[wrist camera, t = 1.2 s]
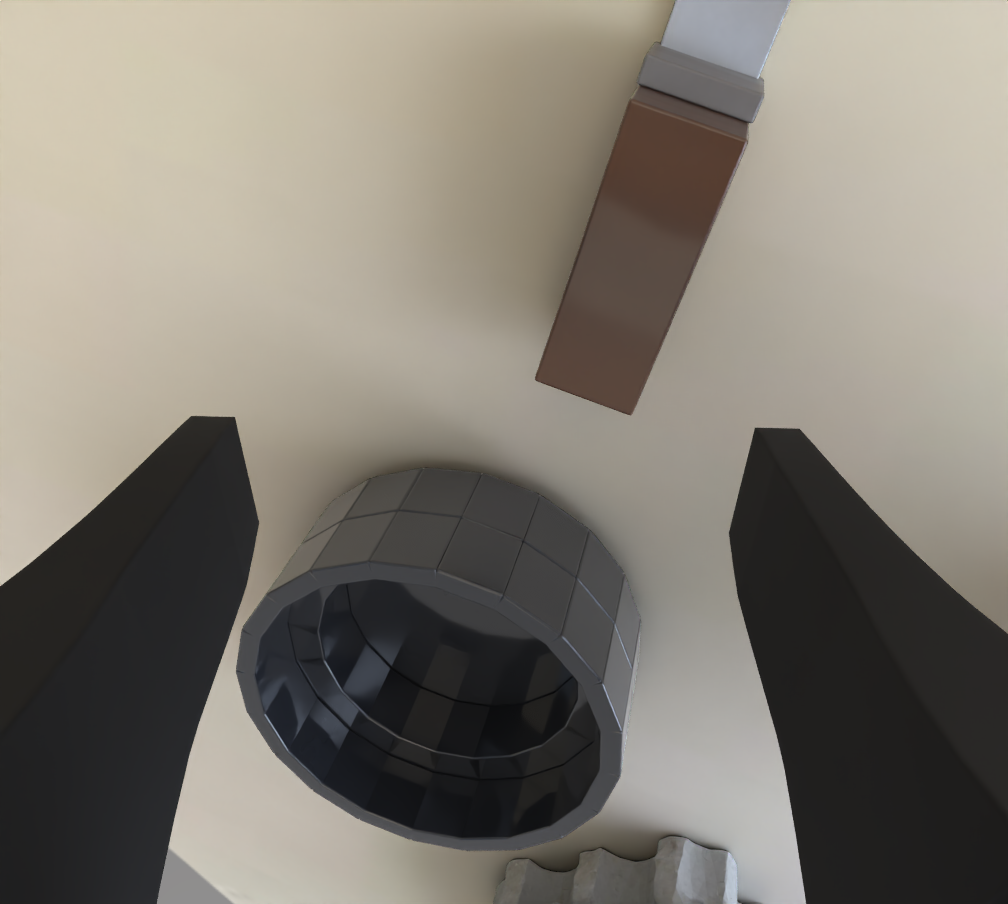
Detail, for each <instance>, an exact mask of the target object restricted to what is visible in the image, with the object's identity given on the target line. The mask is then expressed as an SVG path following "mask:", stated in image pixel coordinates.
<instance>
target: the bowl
mask: <svg viewBox="0 0 1008 904" xmlns="http://www.w3.org/2000/svg"><path fill="white" fill-rule="evenodd" d="M640 632H641V619H640V615H639V612H638V609H637V606H636V604H635V601H634V598H633V595H632V593H631V590H630V587H629V584H628V581H627V579H626V576H625V574H624V571H623V570H622V569H621V567H620V566H619V565H618V564H617V562H616V561H615V560H614V559H613V557H612V556H611V555H610V554H609V552H608V551H607V550H606V549H605V547H604V546H603V545H602V544H601V542H600V541H599V540H598V539H597V537H596V536H595V535H594V534H593V532H592V531H591V530H589V529H588V528H587V527H586V526H584V525H583V524H581V523H580V522H579V521H577V520H576V519H574V518H573V517H572V516H570V515H569V514H567V513H566V512H564V511H563V510H562V509H560V508H559V507H557V506H556V505H554V504H553V503H552V502H550V501H549V500H547V499H546V498H545V497H543V496H540V495H539V494H538V493H536V492H533V491H530V490H528V489H525V488H522V487H520V486H517V485H514V484H512V483H509V482H506V481H504V480H501V479H498V478H496V477H493V476H490V475H488V474H485V473H483V474H481V473H479V472H468V471H458V470H448V469H438V468H428V467H426V468H424V469H423V468H418V469H413V470H408V471H403V472H397V473H392V474H387V475H382V476H377V477H373V478H370V479H368V480H366V481H364V482H363V483H361V484H359V485H358V486H356V487H354V488H353V489H351V490H349V491H348V492H346V493H344V494H343V495H341V496H339V497H338V498H336V499H334V500H333V501H332V502H331V503H330V504H329V505H328V507H327V508H326V509H325V511H324V512H323V514H322V515H321V516H320V518H319V519H318V521H317V522H316V523H315V525H314V526H313V528H312V529H311V530H310V532H309V533H308V535H307V536H306V537H305V539H304V540H303V542H302V543H301V545H300V546H299V547H298V549H297V550H296V552H295V553H294V555H293V556H292V557H291V559H290V560H289V562H288V563H287V565H286V566H285V567H284V569H283V570H282V572H281V573H280V575H279V576H278V577H277V579H276V580H275V582H274V583H273V584H272V586H271V587H270V589H269V590H268V592H267V593H266V594H265V596H264V597H263V599H262V600H261V602H260V603H259V604H258V606H257V607H256V609H255V610H254V611H253V613H252V614H251V616H250V617H249V619H248V620H247V621H246V623H245V624H244V626H243V629H242V632H241V639H240V646H239V653H238V660H237V667H236V669H237V670H236V674H237V677H238V681H239V685H240V688H241V692H242V696H243V699H244V703H245V707H246V710H247V713H248V714H249V716H250V718H251V719H252V721H253V722H254V724H255V725H256V727H257V728H258V730H259V731H260V733H261V735H262V736H263V738H264V739H265V741H266V742H267V744H268V745H269V747H270V748H271V750H272V752H273V753H275V755H276V756H277V757H278V758H279V759H280V760H281V761H282V762H283V763H284V764H285V765H286V766H287V767H288V768H289V769H290V770H291V771H293V772H294V773H295V774H296V775H297V776H298V777H299V778H300V779H301V780H302V781H303V782H304V783H305V784H306V785H307V786H308V787H309V788H310V789H313V791H314V792H316V793H317V794H319V795H320V796H322V797H324V798H325V799H327V800H328V801H330V802H332V803H333V804H335V805H336V806H338V807H340V808H341V809H343V810H344V811H346V812H347V813H349V814H351V815H352V816H354V817H355V818H357V819H360V820H361V821H364V822H366V823H369V824H371V825H374V826H376V827H379V828H382V829H384V830H387V831H389V832H392V833H394V834H397V835H399V836H402V837H404V838H407V839H412V840H413V841H417V842H423V843H428V844H433V845H438V846H443V847H448V848H453V849H458V850H466V851H493V850H516V849H517V850H521V849H524V848H528V847H531V846H535V845H539V844H542V843H546V842H550V841H553V840H557V839H561V838H563V837H565V836H567V835H568V834H569V833H571V832H572V831H574V830H575V829H577V828H578V827H579V826H581V825H582V824H584V823H585V822H587V821H588V820H590V819H591V818H592V817H594V816H595V815H597V814H598V813H599V812H600V811H601V809H602V808H603V806H604V804H605V802H606V801H607V799H608V797H609V796H610V794H611V792H612V790H613V789H614V787H615V785H616V783H617V782H618V780H619V778H620V776H621V771H622V765H623V758H624V752H625V746H626V740H627V733H628V727H629V721H630V713H631V708H632V701H633V695H634V689H635V682H636V676H637V670H638V664H639V651H640Z"/></svg>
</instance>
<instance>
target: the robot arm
mask: <svg viewBox="0 0 1008 904" xmlns="http://www.w3.org/2000/svg"><path fill="white" fill-rule="evenodd" d="M258 526H259V521H258V516H257V512H256V508H255V503H254V499H253V494H252V490H251V486H250V481H249V477H248V473H247V468H246V464H245V459H244V455H243V451H242V446H241V442H240V438H239V433H238V429H237V425H236V420H235V417H208V416H191V417H190V418H189V419H188V420H186V421H185V422H184V423H183V424H182V425H181V426H180V427H179V428H178V429H177V430H176V431H175V432H174V433H173V434H172V435H171V436H170V437H169V438H168V439H166V440H165V441H164V442H163V443H162V444H161V445H160V446H159V447H158V448H157V449H156V450H155V451H154V452H153V453H152V454H151V455H150V456H149V457H148V458H147V459H146V460H145V461H144V462H143V463H142V464H141V465H140V466H139V467H138V468H137V469H136V470H135V471H134V472H133V473H131V474H130V475H129V476H128V477H127V478H126V479H125V480H124V481H123V482H122V483H121V484H120V485H119V486H118V487H117V488H116V489H115V490H114V491H112V492H111V493H110V494H109V495H108V496H107V497H106V498H105V499H104V500H103V501H102V502H101V503H100V504H99V505H97V506H96V507H95V508H94V509H93V510H92V511H91V512H90V513H89V514H88V515H87V516H86V517H84V518H83V519H82V520H81V521H80V522H78V523H77V524H76V525H75V526H74V527H73V528H71V529H70V530H69V531H68V532H67V533H66V534H64V535H63V536H62V537H61V538H60V539H59V540H57V541H56V542H55V543H54V544H53V545H51V546H50V547H49V548H48V549H47V550H46V551H44V552H43V553H42V554H41V555H40V556H39V557H37V558H36V559H35V560H34V561H33V562H31V563H30V564H29V565H27V566H26V567H25V568H24V569H22V570H21V571H20V572H19V573H17V574H16V575H15V576H13V577H12V578H11V579H9V580H8V581H7V582H5V583H4V584H3V585H1V586H0V904H157V899H158V893H159V888H160V883H161V879H162V874H163V869H164V864H165V859H166V855H167V850H168V846H169V841H170V837H171V832H172V827H173V822H174V818H175V814H176V809H177V805H178V801H179V797H180V792H181V788H182V784H183V779H184V775H185V771H186V767H187V762H188V758H189V754H190V751H191V747H192V744H193V741H194V737H195V734H196V731H197V727H198V724H199V721H200V718H201V715H202V713H203V710H204V707H205V704H206V701H207V698H208V695H209V693H210V690H211V687H212V684H213V681H214V678H215V676H216V673H217V670H218V667H219V664H220V661H221V658H222V656H223V653H224V650H225V647H226V644H227V641H228V639H229V636H230V633H231V630H232V627H233V624H234V621H235V618H236V615H237V612H238V609H239V606H240V604H241V601H242V598H243V595H244V591H245V588H246V585H247V580H248V576H249V571H250V567H251V562H252V557H253V552H254V547H255V541H256V536H257V531H258ZM729 537H730V545H731V552H732V560H733V568H734V574H735V581H736V587H737V594H738V599H739V602H740V606H741V610H742V614H743V617H744V621H745V625H746V628H747V632H748V635H749V639H750V643H751V646H752V650H753V653H754V657H755V660H756V664H757V667H758V671H759V675H760V678H761V682H762V685H763V689H764V692H765V696H766V699H767V703H768V706H769V710H770V713H771V717H772V720H773V724H774V727H775V731H776V734H777V738H778V743H779V747H780V751H781V755H782V760H783V764H784V769H785V774H786V780H787V786H788V792H789V797H790V803H791V809H792V815H793V821H794V827H795V832H796V839H797V845H798V852H799V859H800V865H801V872H802V878H803V885H804V891H805V898H806V904H1008V634H1007V633H1006V632H1005V631H1004V630H1002V629H1001V628H1000V627H999V626H997V625H996V624H995V623H994V622H992V621H991V620H990V619H989V618H987V617H986V616H985V615H984V614H982V613H981V612H980V611H979V610H978V609H976V608H975V607H974V606H973V605H971V604H970V603H969V602H968V601H967V600H966V599H964V598H963V597H962V596H961V595H960V594H959V593H958V592H956V591H955V590H954V589H953V588H952V587H951V586H950V585H949V584H947V583H946V582H945V581H944V580H943V579H942V578H941V577H940V576H939V575H938V574H937V573H936V572H935V571H934V570H932V569H931V568H930V567H929V566H928V565H927V564H926V563H925V562H924V561H923V560H922V559H921V558H920V557H918V556H917V555H916V554H915V553H914V552H913V551H912V550H911V549H910V548H909V547H908V546H907V545H906V544H905V543H904V542H903V541H902V540H901V539H900V538H899V537H898V536H897V535H896V534H895V533H894V532H893V531H892V530H891V529H890V528H889V527H888V526H887V525H886V524H885V522H884V521H883V520H882V519H881V518H880V517H879V516H878V515H877V514H876V513H875V512H874V511H873V510H872V509H871V508H870V507H869V506H868V505H867V503H866V502H865V501H864V500H863V499H862V498H861V497H860V496H859V495H858V494H857V493H856V492H855V490H854V489H853V488H852V487H851V486H850V485H849V484H848V483H847V482H846V480H845V479H844V478H843V477H842V476H841V475H840V474H839V473H838V471H837V470H836V469H835V468H834V467H833V466H832V465H831V464H830V462H829V461H828V460H827V459H826V458H825V457H824V456H823V455H822V453H821V452H820V451H819V450H818V449H817V448H816V447H815V445H814V444H813V443H812V442H811V441H810V440H809V439H808V438H807V437H806V435H805V434H804V433H803V432H802V431H801V430H800V429H787V428H755V430H754V434H753V438H752V442H751V446H750V450H749V454H748V458H747V462H746V466H745V470H744V474H743V478H742V482H741V486H740V490H739V494H738V498H737V502H736V507H735V511H734V515H733V519H732V523H731V527H730V531H729Z"/></svg>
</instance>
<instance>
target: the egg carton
mask: <svg viewBox="0 0 1008 904" xmlns="http://www.w3.org/2000/svg"><path fill="white" fill-rule="evenodd" d="M737 873H738V870H737V864H736V862H735V861H734V859H733V857H732V855H731V854H730V853H729V852H727V851H724V850H710V849H707V848H704V847H701V846H699V845H697V844H695V843H693V842H691V841H690V840H689V839H687V838H683V837H670V836H669V837H666V838H663V839H661V840H660V841H659V842H658V852H657V854H656V856H655V857H653V858H651V859H648V860H645V861H639V862H633V861H629V860H627V859H622V858H619V857H617V856H615V855H613V854H611V853H609V852H607V851H606V850H603V849H601V848H598V849H597V850H595V851H588V852H583V853H580V855H579V865H578V866H577V868H576V869H574V870H572V871H569V872H564V873H561V872H552V871H549V870H545V869H542V868H541V867H539V866H538V865H536V864H535V863H533V862H532V861H531V860H529V859H517V860H512V861H510V862H509V863H508V864H507V867H506V877H505V880H503V881H502V882H501V883H500V884H499V885H498V887H497V888H496V895H495V898H494V901H493V904H742V903H739V902H737V892H738V883H737Z"/></svg>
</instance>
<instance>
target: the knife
mask: <svg viewBox="0 0 1008 904" xmlns="http://www.w3.org/2000/svg"><path fill="white" fill-rule="evenodd" d="M790 1H791V0H676V1H675V3H674V6H673V9H672V12H671V15H670V18H669V21H668V24H667V27H666V29H665V32H664V35H663V38H662V41H661V43H658V42H655V43H654V44H653V46H652V47H651V48H650V50H649V51H648V53H647V54H646V56H645V58H644V61H643V64H642V67H641V70H640V73H639V76H638V79H637V83H638V84H639V85H638V87H637V89H636V90H635V92H634V93H633V95H632V97H631V98H630V100H629V102H628V105H627V107H626V110H625V113H624V116H623V119H622V122H621V125H620V128H619V131H618V134H617V137H616V140H615V143H614V146H613V149H612V152H611V155H610V158H609V161H608V164H607V166H606V169H605V172H604V175H603V178H602V181H601V184H600V187H599V190H598V193H597V196H596V199H595V202H594V205H593V208H592V211H591V214H590V217H589V220H588V223H587V225H586V228H585V231H584V234H583V237H582V240H581V243H580V246H579V249H578V252H577V255H576V258H575V261H574V264H573V267H572V270H571V273H570V276H569V279H568V282H567V284H566V287H565V290H564V293H563V296H562V299H561V302H560V305H559V308H558V311H557V314H556V317H555V320H554V323H553V326H552V329H551V332H550V335H549V338H548V341H547V343H546V346H545V349H544V352H543V355H542V358H541V361H540V364H539V367H538V370H537V373H536V376H535V380H536V381H538V382H541V383H543V384H546V385H549V386H551V387H554V388H557V389H560V390H562V391H565V392H568V393H571V394H573V395H576V396H579V397H581V398H584V399H587V400H590V401H592V402H595V403H598V404H600V405H603V406H606V407H609V408H611V409H614V410H617V411H619V412H622V413H625V414H628V415H632V414H633V412H634V410H635V407H636V405H637V403H638V400H639V398H640V396H641V393H642V391H643V389H644V386H645V384H646V382H647V379H648V377H649V375H650V372H651V370H652V367H653V365H654V363H655V360H656V358H657V356H658V353H659V351H660V349H661V346H662V344H663V342H664V339H665V337H666V335H667V332H668V330H669V328H670V325H671V323H672V320H673V318H674V316H675V313H676V311H677V309H678V306H679V304H680V302H681V299H682V297H683V295H684V292H685V290H686V288H687V285H688V283H689V280H690V278H691V276H692V273H693V271H694V269H695V266H696V264H697V262H698V259H699V257H700V255H701V252H702V250H703V248H704V245H705V243H706V241H707V238H708V236H709V233H710V231H711V229H712V226H713V224H714V222H715V219H716V217H717V215H718V212H719V210H720V208H721V205H722V203H723V201H724V198H725V196H726V193H727V191H728V189H729V186H730V184H731V182H732V179H733V177H734V175H735V172H736V170H737V168H738V165H739V163H740V161H741V158H742V156H743V154H744V151H745V149H746V146H747V144H748V133H749V123H753V122H754V120H755V117H756V115H757V113H758V110H759V108H760V106H761V103H762V101H763V99H764V80H763V79H762V78H760V77H759V76H760V74H761V71H762V69H763V66H764V64H765V61H766V59H767V57H768V54H769V52H770V49H771V47H772V45H773V42H774V40H775V37H776V35H777V33H778V30H779V28H780V25H781V23H782V20H783V18H784V16H785V13H786V11H787V8H788V6H789V4H790Z"/></svg>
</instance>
